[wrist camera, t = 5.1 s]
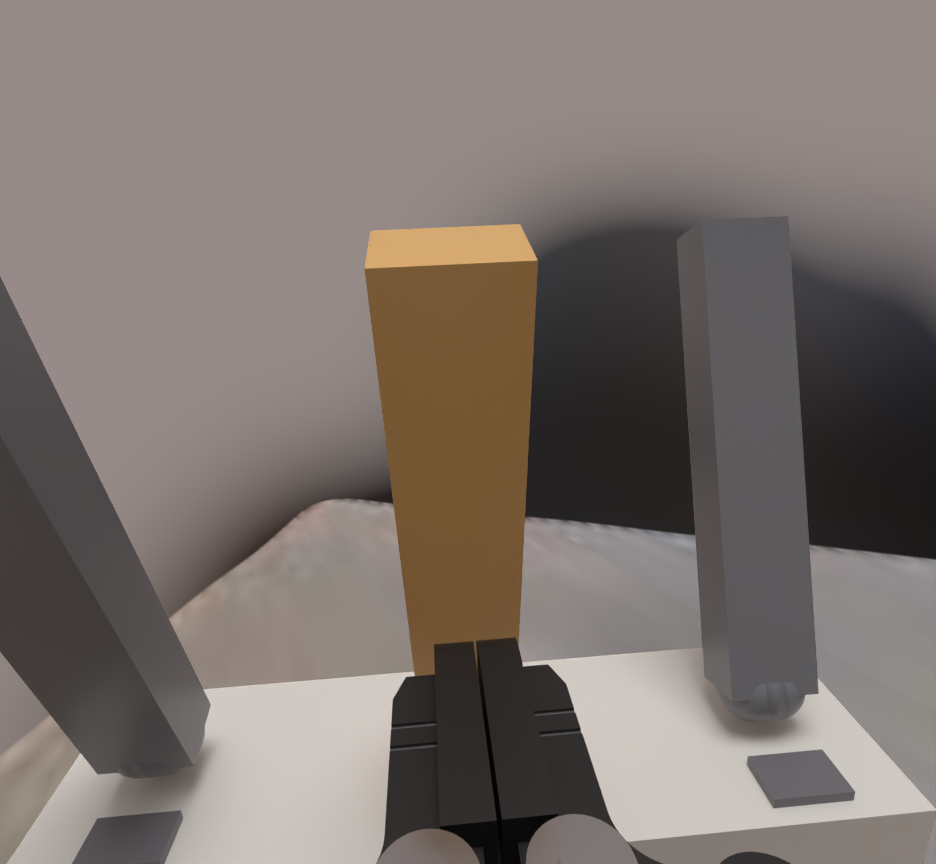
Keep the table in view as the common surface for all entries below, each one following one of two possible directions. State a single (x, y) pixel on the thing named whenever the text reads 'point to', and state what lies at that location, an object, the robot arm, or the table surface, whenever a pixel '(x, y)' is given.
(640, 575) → the table surface
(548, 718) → the robot arm
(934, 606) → the table surface
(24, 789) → the table surface
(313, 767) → the lever base
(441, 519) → the lever middle
